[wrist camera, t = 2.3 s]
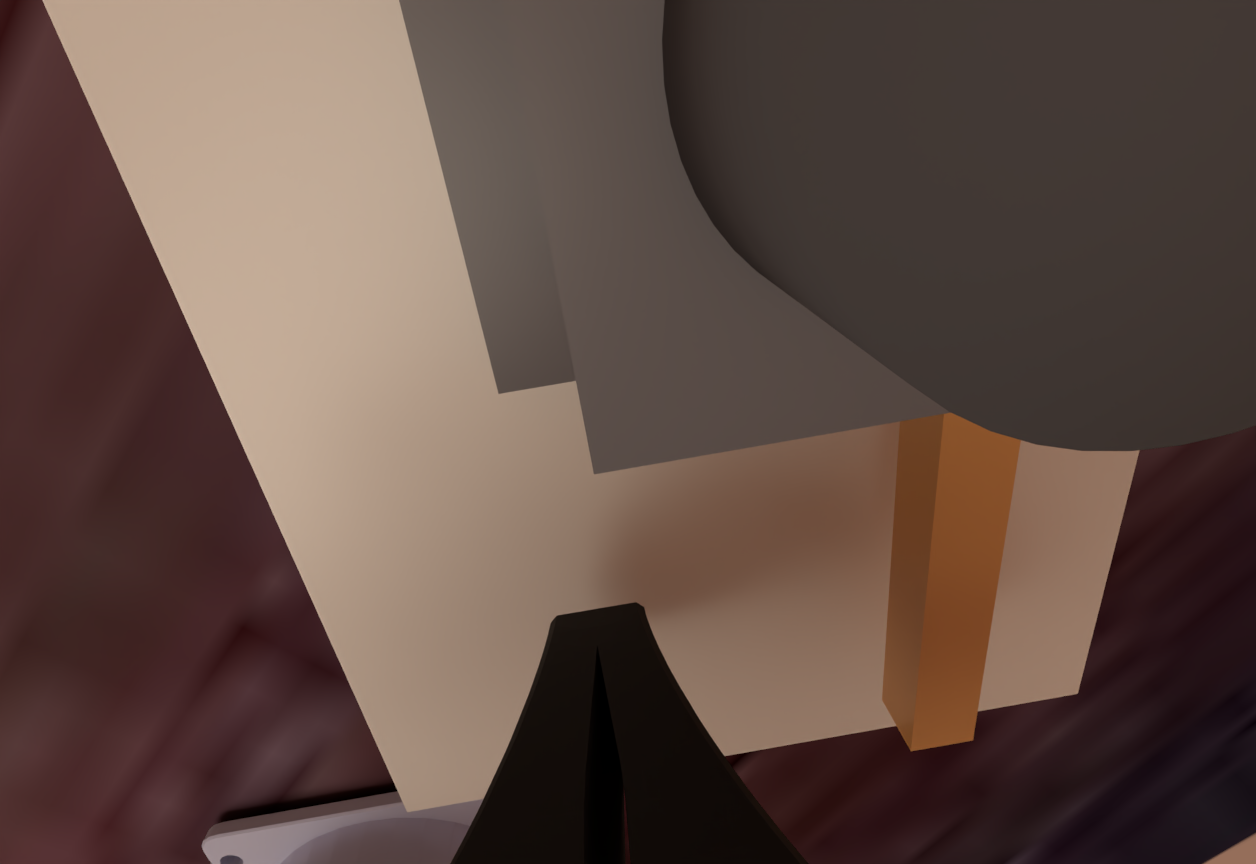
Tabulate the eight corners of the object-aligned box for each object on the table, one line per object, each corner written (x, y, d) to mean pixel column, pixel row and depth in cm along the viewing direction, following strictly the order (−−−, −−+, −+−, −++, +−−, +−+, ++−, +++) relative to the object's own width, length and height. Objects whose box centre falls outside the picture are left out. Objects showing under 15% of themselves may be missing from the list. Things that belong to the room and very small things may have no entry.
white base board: (1007, 617, 15) (1077, 693, 13) (428, 717, 15) (407, 812, 13) (1265, -864, 7) (1589, -1319, 4) (-126, -719, 6) (-473, -1147, 4)
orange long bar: (939, 655, 12) (1027, 777, 9) (842, 672, 12) (908, 798, 9) (1145, -1116, 4) (1717, -2326, 2) (886, -1091, 4) (1216, -2320, 2)
